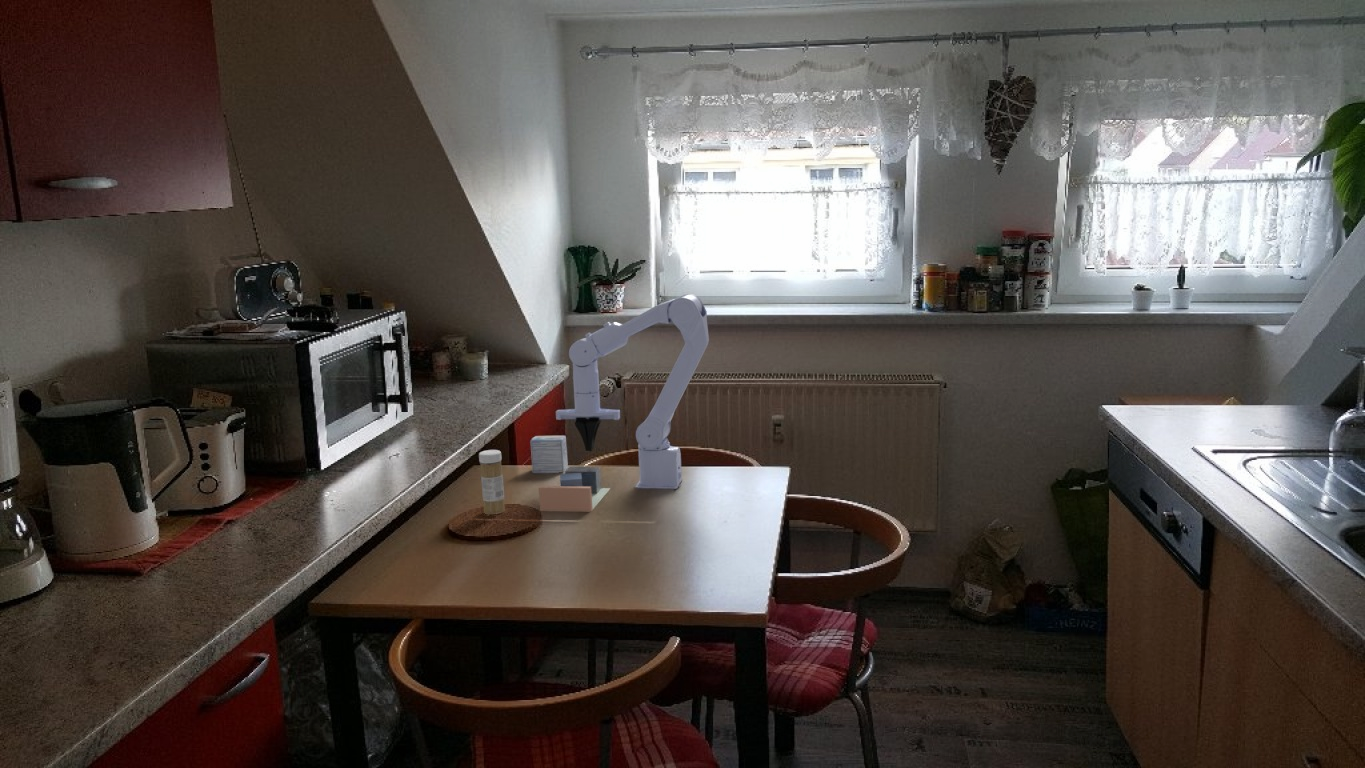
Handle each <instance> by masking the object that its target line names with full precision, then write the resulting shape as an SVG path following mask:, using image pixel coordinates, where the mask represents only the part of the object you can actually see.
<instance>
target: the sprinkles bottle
mask: <svg viewBox="0 0 1365 768" xmlns="http://www.w3.org/2000/svg"><path fill="white" fill-rule="evenodd" d="M478 459H479V460H478V461H479V464H480V475H481V476H480V479H481V491H482V494H481V495H482V500H483V502H482V503H483V514H484V513H485V514H497V513H501V512H503V511H505V512H506V509H505V491H504V489H505V488H504V476H503V469H502V452H501V451H500V449H499V450H498V449H488V450H483V451H480V452H479V453H478ZM485 514H484V515H485Z"/></svg>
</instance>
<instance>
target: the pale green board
mask: <svg viewBox="0 0 1365 768" xmlns="http://www.w3.org/2000/svg"><path fill="white" fill-rule="evenodd" d="M610 490H611V488H610V487H601V490H600V491H599V492H598V493H597V494H592V492H591V487H586V486H561V485H560V486H559V485H557V486H556V485H540V486H538V496H539V497H538V498H539V499H538V501H539V511H540V512H582V513H584V512H588V513H589V512H592V511H593V510H594V509H595V508H596V507H597V505H598V504H599V503H600V501H601V500H602V499H603V498H604V497H605V496H606V494H607V493H608V492H609V491H610Z"/></svg>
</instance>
